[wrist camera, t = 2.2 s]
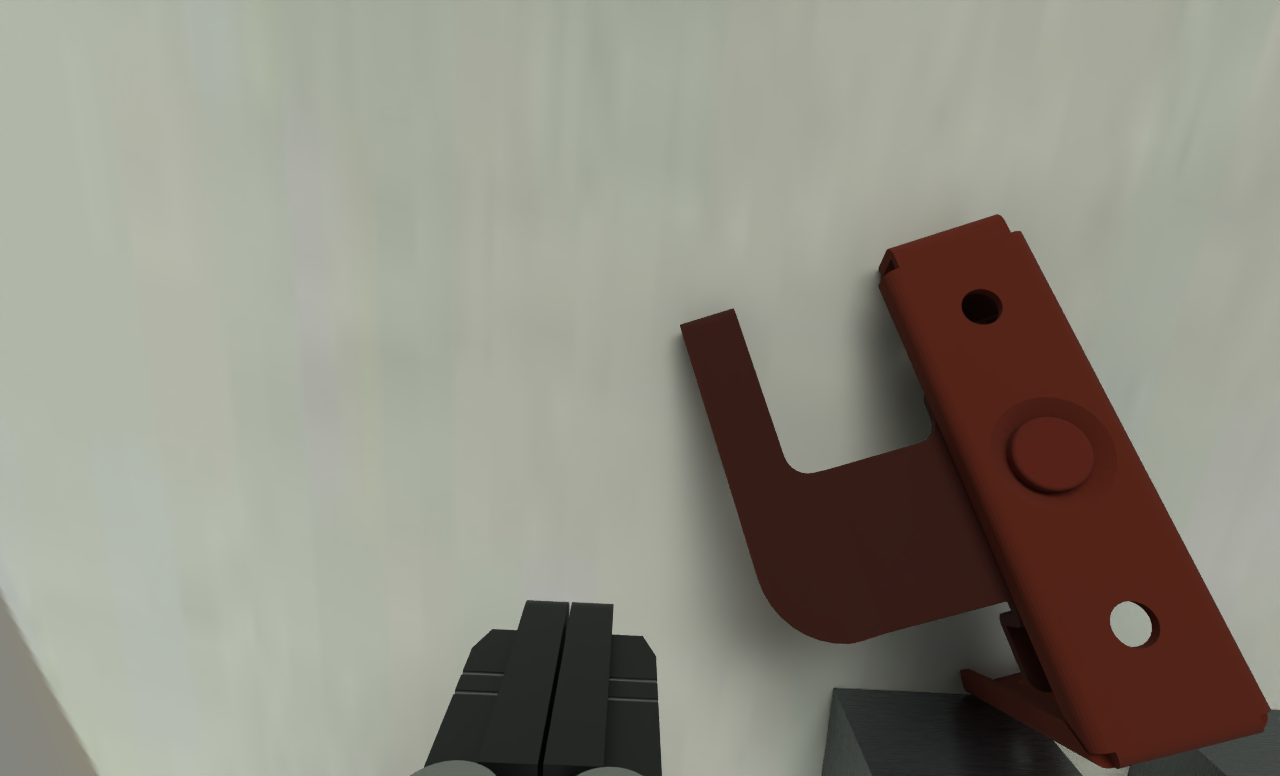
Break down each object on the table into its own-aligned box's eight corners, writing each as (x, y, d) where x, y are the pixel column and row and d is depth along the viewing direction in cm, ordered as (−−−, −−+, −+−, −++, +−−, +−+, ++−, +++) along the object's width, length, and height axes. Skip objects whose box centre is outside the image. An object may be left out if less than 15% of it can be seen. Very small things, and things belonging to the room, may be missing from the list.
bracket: (804, 738, 25) (842, 845, 15) (696, 395, 29) (674, 311, 20) (1075, 666, 24) (1292, 732, 15) (923, 325, 28) (1014, 203, 19)
